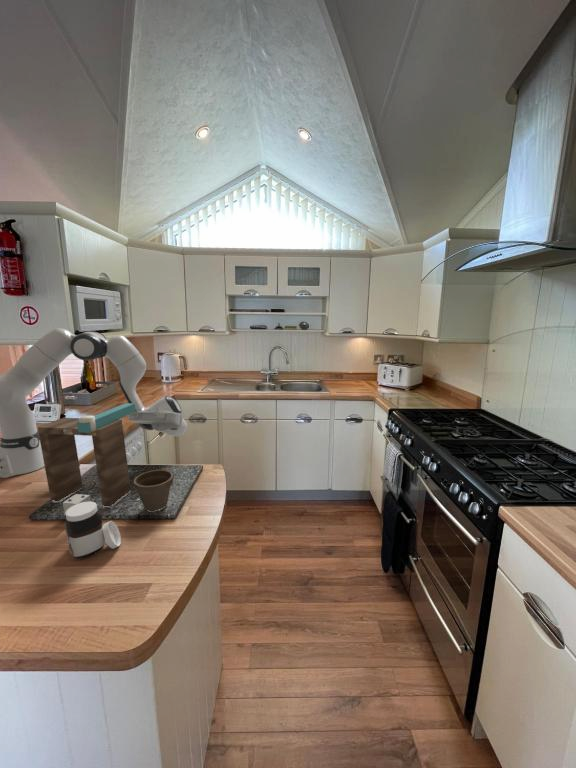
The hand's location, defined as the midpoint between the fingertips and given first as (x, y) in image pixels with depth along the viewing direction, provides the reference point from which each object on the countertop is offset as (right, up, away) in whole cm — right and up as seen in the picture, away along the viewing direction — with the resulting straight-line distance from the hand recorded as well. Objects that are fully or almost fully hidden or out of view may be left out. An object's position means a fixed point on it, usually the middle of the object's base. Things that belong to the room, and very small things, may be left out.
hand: (143, 413), depth 126 cm
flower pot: (+13, -28, -20) cm, 37 cm away
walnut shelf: (-11, -27, -14) cm, 32 cm away
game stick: (-3, -1, -18) cm, 18 cm away
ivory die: (-10, -29, -23) cm, 38 cm away
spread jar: (+5, -32, -39) cm, 50 cm away
